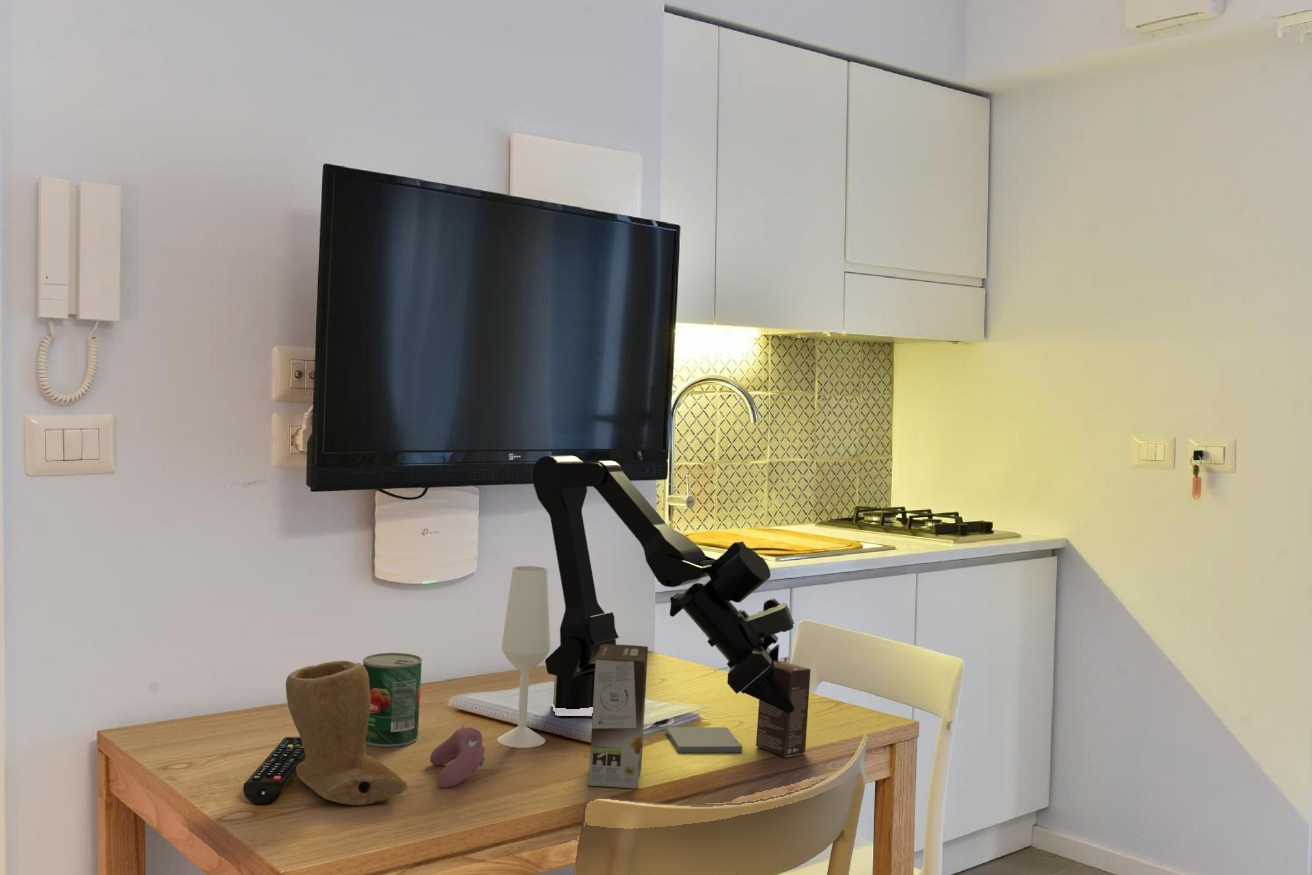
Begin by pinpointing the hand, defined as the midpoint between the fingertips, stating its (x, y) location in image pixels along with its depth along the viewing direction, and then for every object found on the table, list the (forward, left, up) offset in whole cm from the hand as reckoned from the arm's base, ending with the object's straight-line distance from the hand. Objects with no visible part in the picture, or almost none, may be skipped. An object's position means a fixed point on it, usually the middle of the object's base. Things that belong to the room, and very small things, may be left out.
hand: (793, 704), depth 159 cm
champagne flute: (-37, +5, -7) cm, 38 cm away
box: (-1, 0, -7) cm, 7 cm away
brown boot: (-60, -14, -7) cm, 62 cm away
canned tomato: (-55, +6, -7) cm, 56 cm away
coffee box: (-26, -10, -7) cm, 29 cm away
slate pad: (-12, +4, -7) cm, 14 cm away
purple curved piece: (-46, -9, -7) cm, 48 cm away
